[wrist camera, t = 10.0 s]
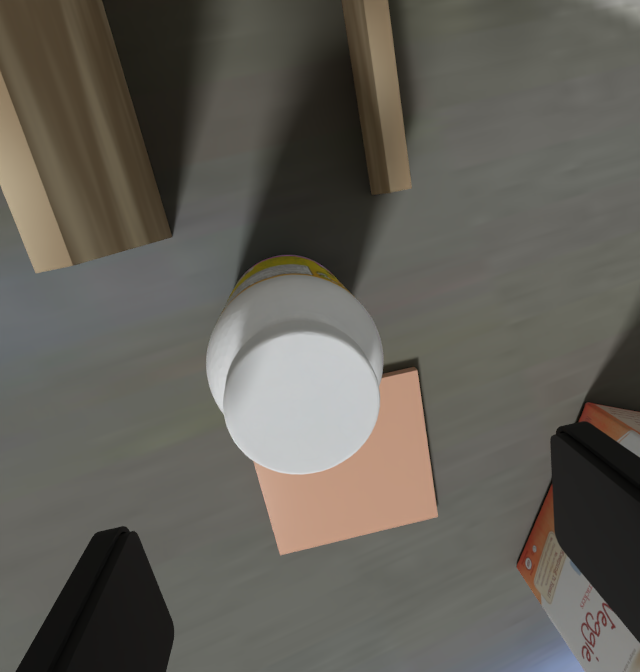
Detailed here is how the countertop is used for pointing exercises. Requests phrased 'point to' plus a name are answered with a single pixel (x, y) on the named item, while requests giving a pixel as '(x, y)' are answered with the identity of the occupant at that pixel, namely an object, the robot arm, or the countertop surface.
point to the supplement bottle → (295, 366)
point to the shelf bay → (131, 128)
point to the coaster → (360, 479)
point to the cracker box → (570, 584)
